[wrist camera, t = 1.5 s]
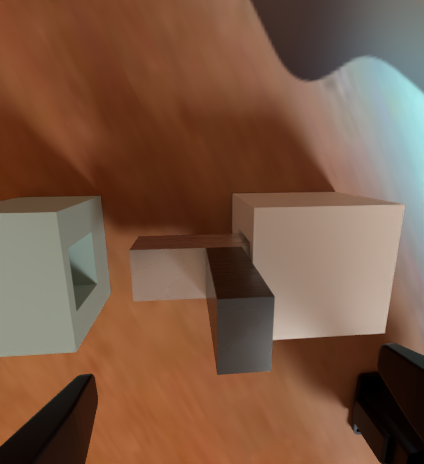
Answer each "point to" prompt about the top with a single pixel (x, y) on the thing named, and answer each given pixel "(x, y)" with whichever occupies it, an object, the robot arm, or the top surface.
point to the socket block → (50, 273)
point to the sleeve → (322, 259)
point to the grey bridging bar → (211, 291)
